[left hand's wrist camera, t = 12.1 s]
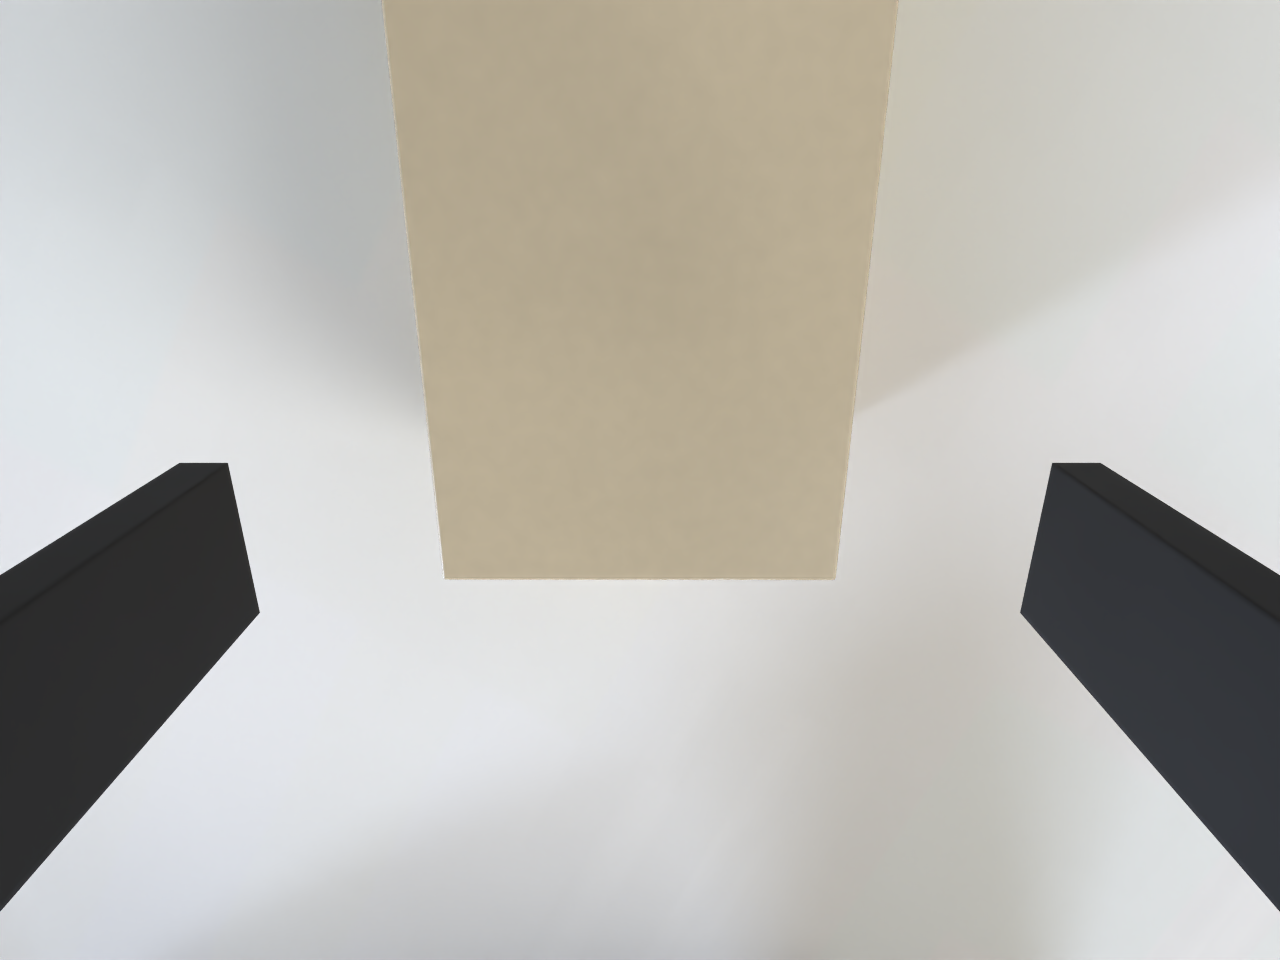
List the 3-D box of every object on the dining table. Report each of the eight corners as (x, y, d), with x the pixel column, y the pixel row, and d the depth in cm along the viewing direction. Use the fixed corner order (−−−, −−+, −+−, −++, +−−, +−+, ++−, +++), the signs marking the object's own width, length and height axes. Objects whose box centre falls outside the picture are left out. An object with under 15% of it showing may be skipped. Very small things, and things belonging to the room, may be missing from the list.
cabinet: (459, -143, 22) (343, -348, 13) (820, -142, 22) (937, -348, 13) (501, 459, 29) (442, 580, 20) (777, 459, 29) (836, 581, 20)
